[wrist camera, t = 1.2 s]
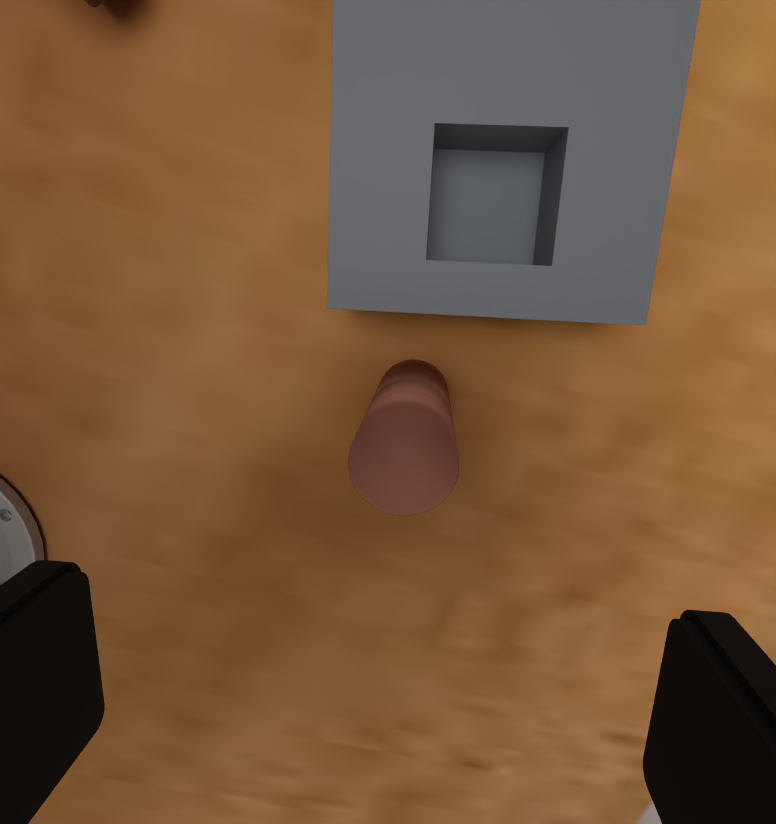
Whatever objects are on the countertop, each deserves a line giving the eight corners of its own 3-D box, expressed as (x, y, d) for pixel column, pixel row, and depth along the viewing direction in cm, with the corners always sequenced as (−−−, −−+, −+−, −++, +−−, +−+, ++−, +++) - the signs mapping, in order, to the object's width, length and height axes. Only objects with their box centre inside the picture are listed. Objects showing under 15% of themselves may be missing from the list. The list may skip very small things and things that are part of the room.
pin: (445, 428, 31) (454, 520, 19) (377, 424, 31) (346, 511, 20) (450, 361, 30) (463, 414, 18) (380, 357, 30) (349, 407, 19)
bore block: (601, 316, 29) (645, 325, 23) (347, 302, 29) (327, 308, 24) (668, -135, 24) (746, -269, 18) (359, -135, 24) (337, -263, 19)
